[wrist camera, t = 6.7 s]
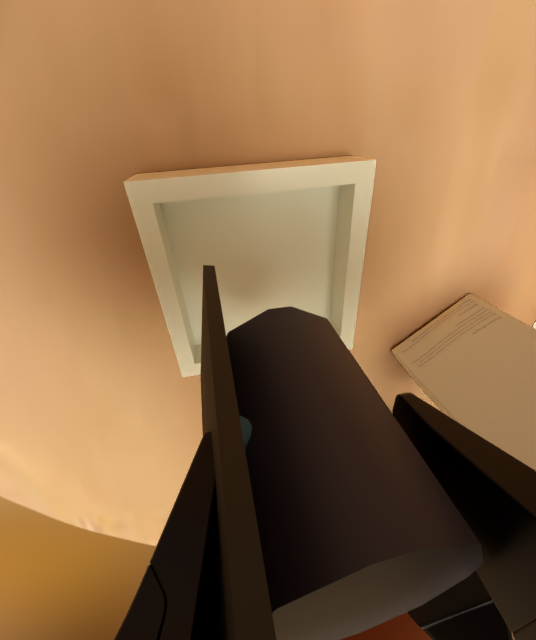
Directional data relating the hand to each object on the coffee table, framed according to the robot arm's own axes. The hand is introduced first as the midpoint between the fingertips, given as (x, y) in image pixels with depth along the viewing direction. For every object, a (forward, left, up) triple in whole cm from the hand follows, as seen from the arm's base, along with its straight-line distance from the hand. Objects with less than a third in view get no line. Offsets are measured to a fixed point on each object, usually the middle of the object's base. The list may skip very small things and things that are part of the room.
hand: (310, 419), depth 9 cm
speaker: (0, 0, -4) cm, 4 cm away
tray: (0, 0, -12) cm, 12 cm away
